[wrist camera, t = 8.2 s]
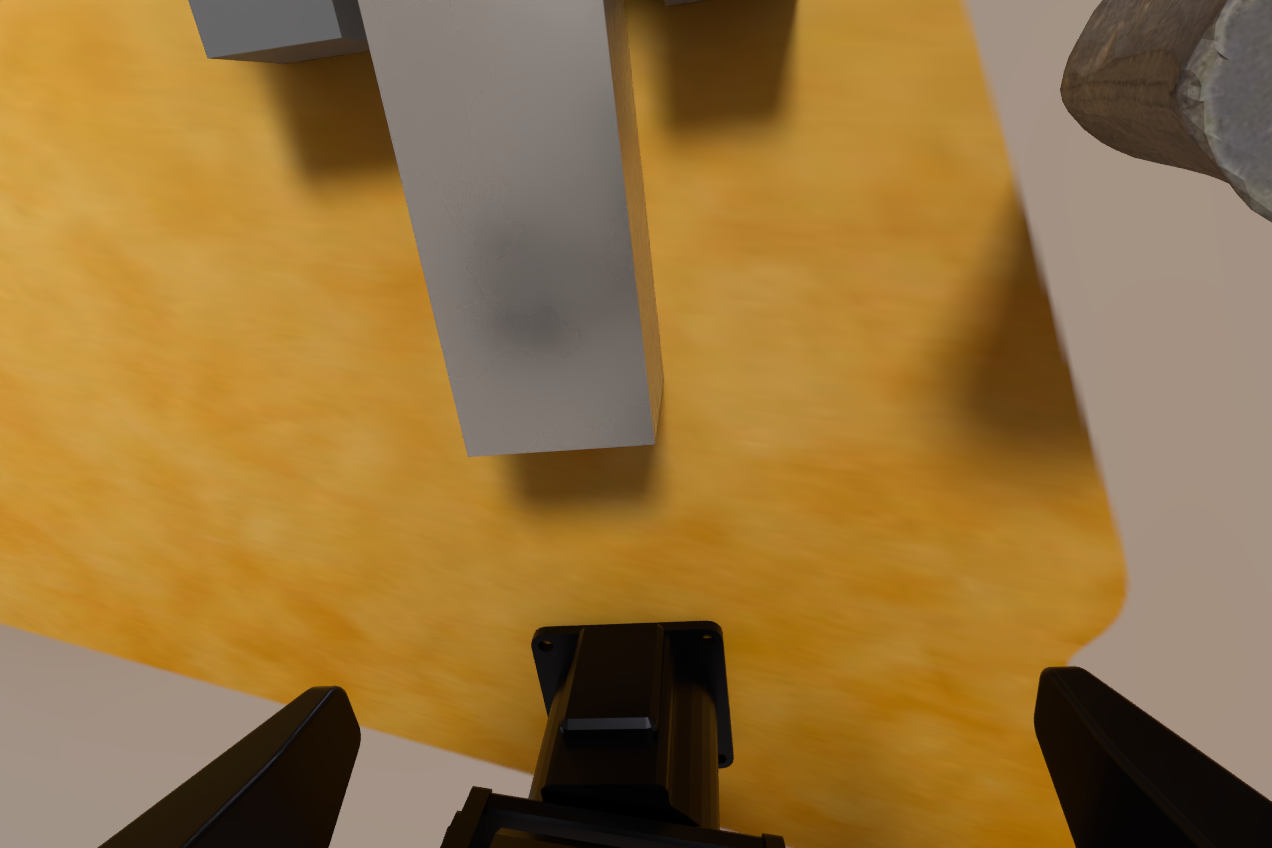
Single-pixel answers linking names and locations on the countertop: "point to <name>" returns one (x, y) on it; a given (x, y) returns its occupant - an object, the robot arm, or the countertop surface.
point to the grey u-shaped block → (284, 29)
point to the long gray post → (527, 214)
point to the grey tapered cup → (1180, 87)
